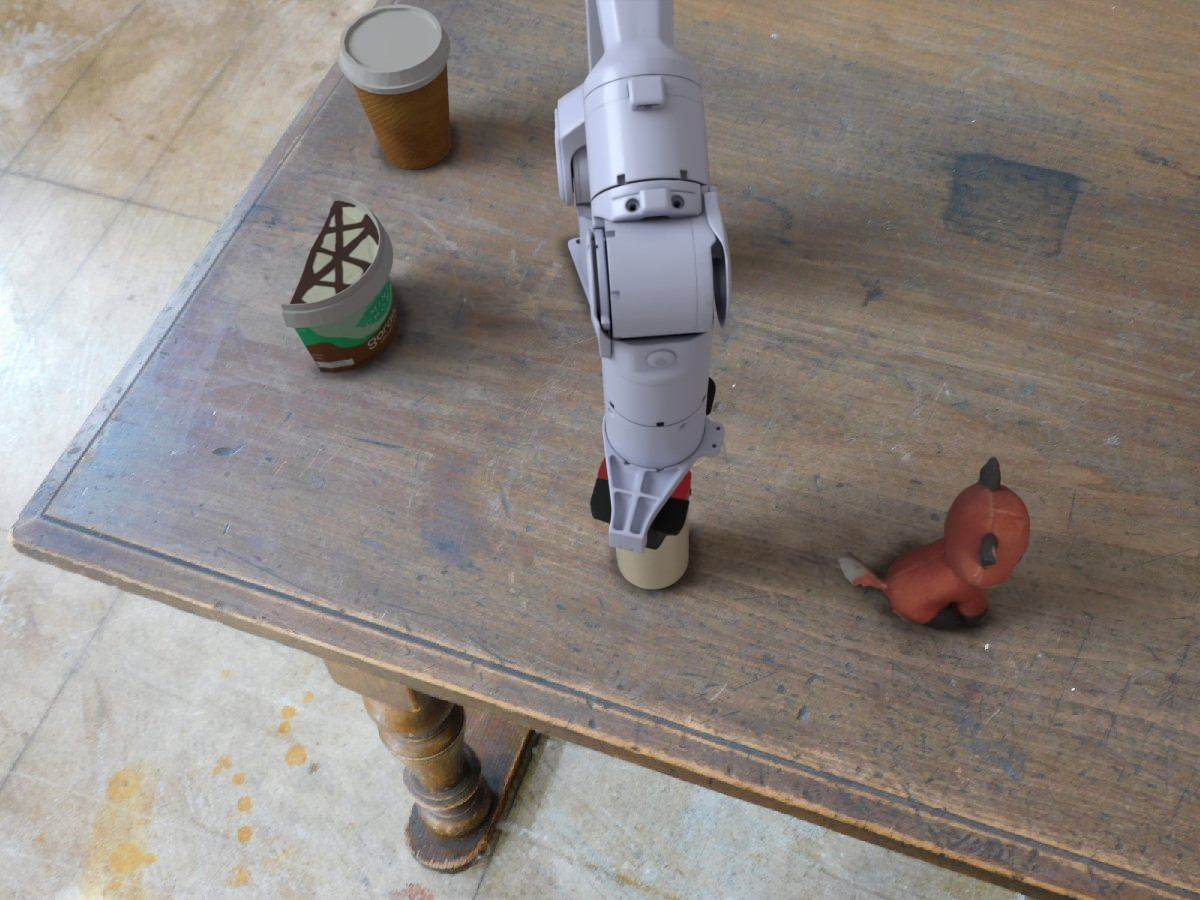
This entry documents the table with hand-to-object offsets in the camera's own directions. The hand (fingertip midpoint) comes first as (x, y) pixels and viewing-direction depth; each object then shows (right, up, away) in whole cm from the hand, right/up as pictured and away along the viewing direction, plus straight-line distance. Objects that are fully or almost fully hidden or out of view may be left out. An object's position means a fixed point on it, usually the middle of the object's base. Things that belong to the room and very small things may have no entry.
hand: (654, 499), depth 70 cm
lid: (-1, +1, -2) cm, 2 cm away
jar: (0, -4, +8) cm, 9 cm away
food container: (-22, +13, +19) cm, 32 cm away
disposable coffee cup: (-21, +31, +30) cm, 48 cm away
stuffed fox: (+19, -6, +6) cm, 21 cm away
